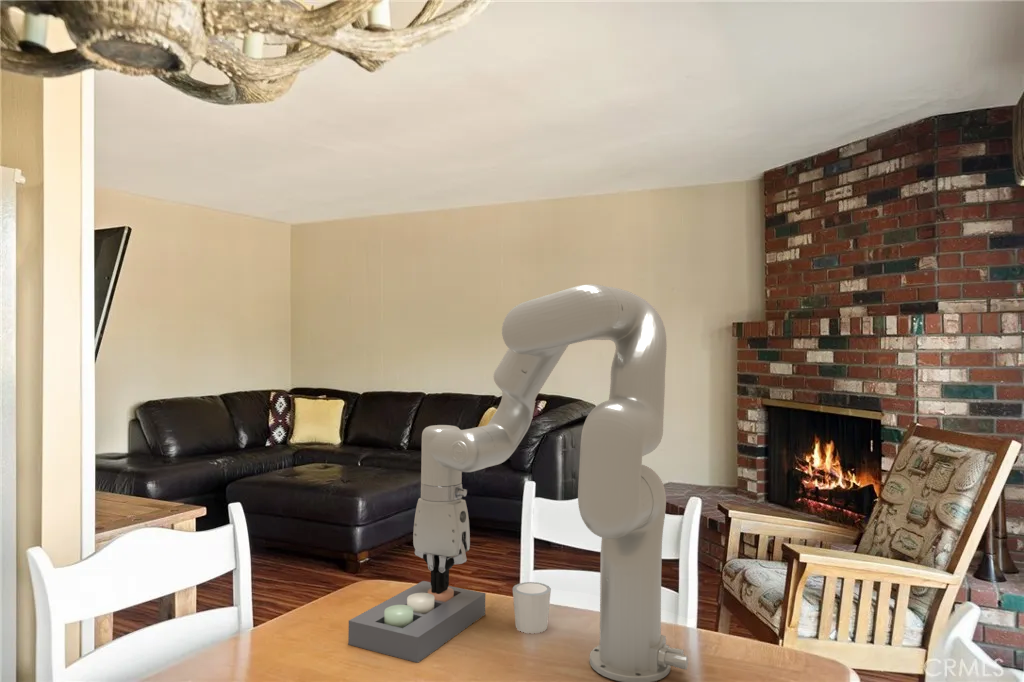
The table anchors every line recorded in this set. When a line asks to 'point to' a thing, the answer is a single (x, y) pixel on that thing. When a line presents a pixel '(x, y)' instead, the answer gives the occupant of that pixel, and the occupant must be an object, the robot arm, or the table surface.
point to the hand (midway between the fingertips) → (439, 590)
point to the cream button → (421, 602)
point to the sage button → (398, 615)
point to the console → (416, 624)
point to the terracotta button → (443, 595)
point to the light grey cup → (531, 606)
